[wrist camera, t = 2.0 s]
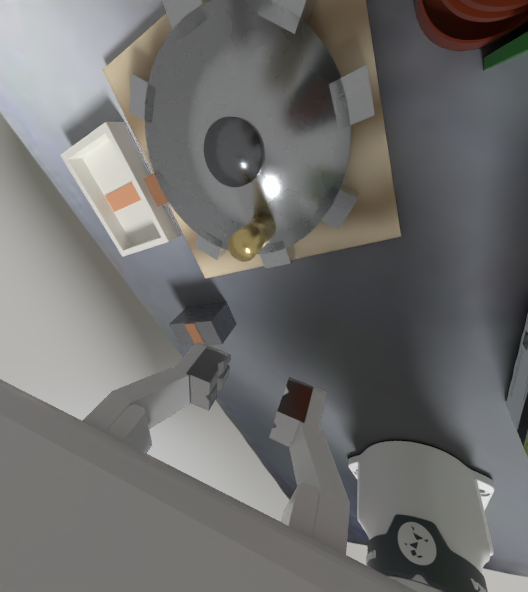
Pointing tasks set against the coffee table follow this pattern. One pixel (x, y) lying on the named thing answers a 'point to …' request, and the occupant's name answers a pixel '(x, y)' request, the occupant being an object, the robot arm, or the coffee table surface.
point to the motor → (474, 25)
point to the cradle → (119, 188)
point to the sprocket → (249, 125)
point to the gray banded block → (203, 324)
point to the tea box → (520, 391)
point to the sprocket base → (365, 135)
